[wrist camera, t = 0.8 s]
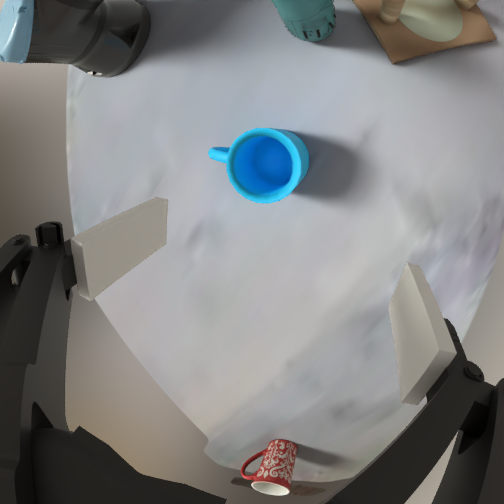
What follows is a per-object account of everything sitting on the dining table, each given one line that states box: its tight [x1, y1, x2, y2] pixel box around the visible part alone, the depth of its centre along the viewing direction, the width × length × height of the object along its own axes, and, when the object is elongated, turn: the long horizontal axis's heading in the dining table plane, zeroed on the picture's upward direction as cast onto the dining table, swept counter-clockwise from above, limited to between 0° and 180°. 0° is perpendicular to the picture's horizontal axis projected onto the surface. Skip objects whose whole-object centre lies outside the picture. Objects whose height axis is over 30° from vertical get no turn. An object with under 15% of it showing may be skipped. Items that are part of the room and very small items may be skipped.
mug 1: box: [208, 128, 309, 203], centre depth 34 cm, size 12×8×8 cm
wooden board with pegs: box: [352, 0, 497, 64], centre depth 19 cm, size 12×18×8 cm, turn 117°
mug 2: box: [241, 440, 297, 495], centre depth 56 cm, size 13×9×14 cm
